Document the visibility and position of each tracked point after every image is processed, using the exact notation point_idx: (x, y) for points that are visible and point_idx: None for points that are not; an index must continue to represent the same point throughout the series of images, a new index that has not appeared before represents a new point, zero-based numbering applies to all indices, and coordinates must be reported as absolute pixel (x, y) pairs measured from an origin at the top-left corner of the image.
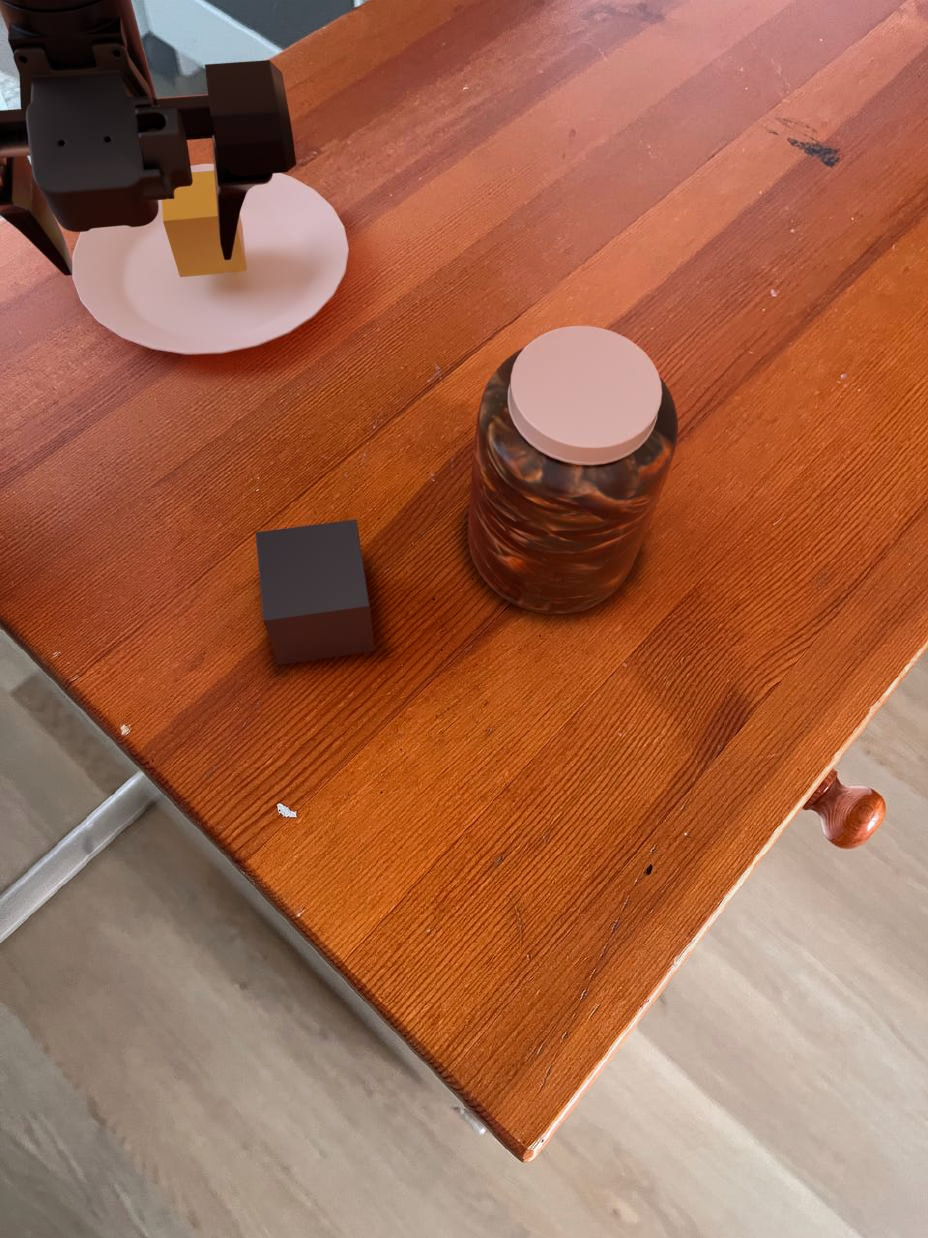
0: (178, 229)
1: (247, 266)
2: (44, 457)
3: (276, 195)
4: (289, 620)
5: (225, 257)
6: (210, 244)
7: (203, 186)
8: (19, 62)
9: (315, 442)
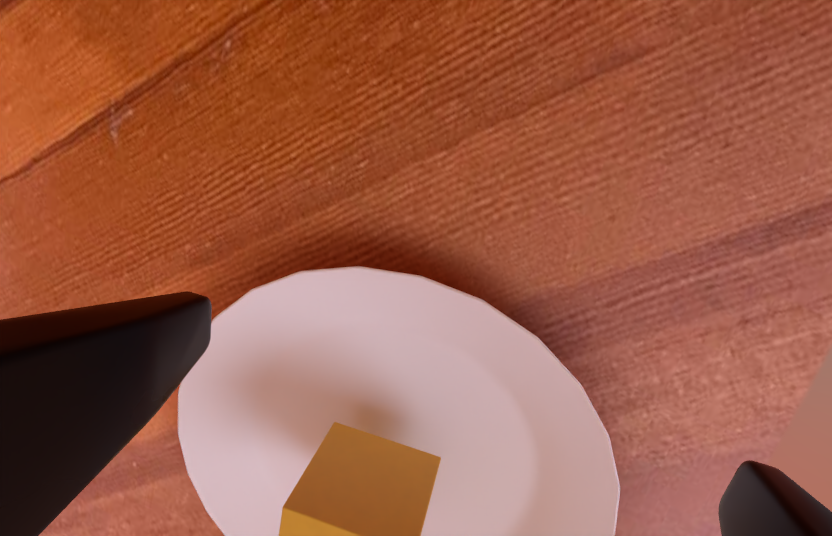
0: (396, 527)
1: None
2: (827, 206)
3: (266, 530)
4: None
5: (193, 296)
6: (360, 479)
7: None
8: None
9: (330, 46)
